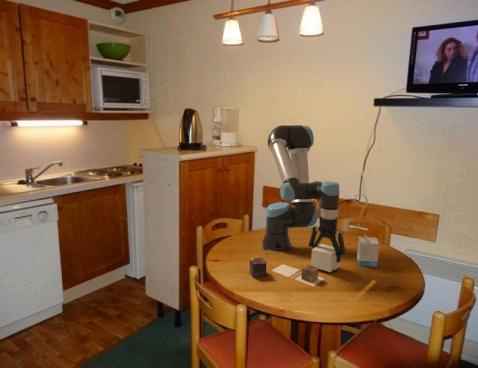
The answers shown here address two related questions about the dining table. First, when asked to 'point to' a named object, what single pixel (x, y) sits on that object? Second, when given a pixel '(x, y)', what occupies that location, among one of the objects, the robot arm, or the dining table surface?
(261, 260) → the box
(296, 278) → the board
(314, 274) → the block
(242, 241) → the dining table surface
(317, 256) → the block
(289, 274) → the pad
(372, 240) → the ink box
